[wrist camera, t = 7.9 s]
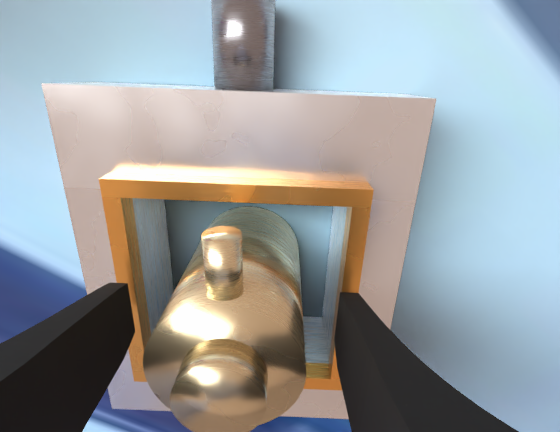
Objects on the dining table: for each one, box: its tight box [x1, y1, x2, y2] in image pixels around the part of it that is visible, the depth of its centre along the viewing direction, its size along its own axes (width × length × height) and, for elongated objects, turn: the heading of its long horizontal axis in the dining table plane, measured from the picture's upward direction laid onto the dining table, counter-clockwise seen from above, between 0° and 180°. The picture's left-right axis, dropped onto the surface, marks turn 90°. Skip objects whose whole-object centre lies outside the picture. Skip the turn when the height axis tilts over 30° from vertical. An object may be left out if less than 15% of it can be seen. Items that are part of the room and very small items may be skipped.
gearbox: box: [42, 0, 436, 419], centre depth 13 cm, size 17×12×4 cm
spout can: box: [143, 206, 306, 432], centre depth 12 cm, size 6×4×8 cm
